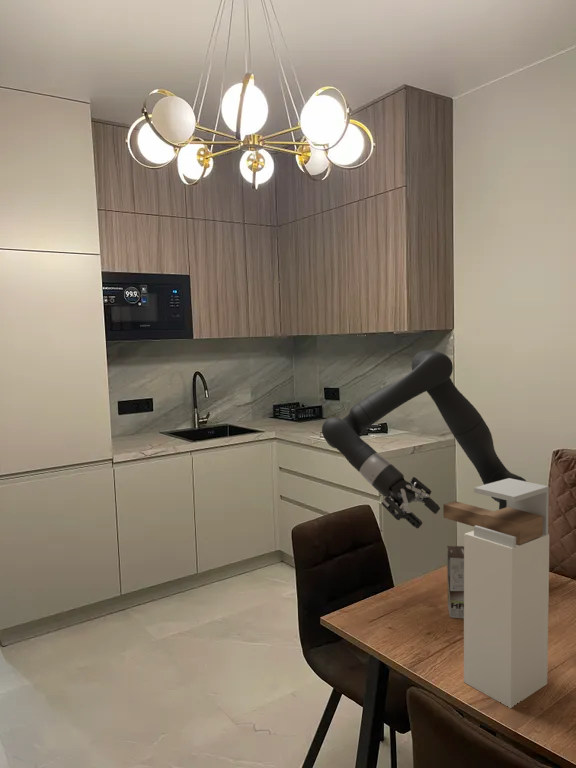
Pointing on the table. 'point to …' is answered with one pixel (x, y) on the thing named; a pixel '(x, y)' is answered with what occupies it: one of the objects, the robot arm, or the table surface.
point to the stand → (507, 600)
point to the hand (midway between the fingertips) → (429, 518)
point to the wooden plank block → (497, 520)
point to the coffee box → (455, 581)
